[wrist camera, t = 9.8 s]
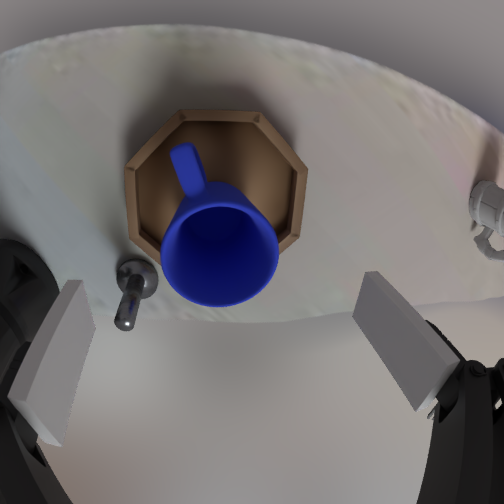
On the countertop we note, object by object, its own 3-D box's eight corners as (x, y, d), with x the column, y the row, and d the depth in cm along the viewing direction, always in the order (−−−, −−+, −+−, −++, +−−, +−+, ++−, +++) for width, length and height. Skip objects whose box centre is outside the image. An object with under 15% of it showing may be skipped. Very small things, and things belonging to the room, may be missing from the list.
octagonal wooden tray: (140, 266, 32) (135, 282, 29) (132, 113, 25) (124, 112, 21) (285, 264, 35) (293, 279, 32) (301, 117, 28) (313, 117, 24)
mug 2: (495, 182, 35) (547, 207, 25) (478, 244, 40) (523, 277, 30) (473, 173, 34) (531, 199, 23) (455, 243, 39) (505, 279, 28)
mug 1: (228, 122, 25) (243, 124, 16) (264, 234, 31) (291, 286, 22) (145, 152, 25) (116, 172, 16) (190, 260, 30) (188, 321, 22)
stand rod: (121, 295, 33) (106, 341, 26) (115, 259, 31) (94, 301, 24) (160, 295, 34) (152, 342, 27) (156, 258, 32) (145, 302, 24)
